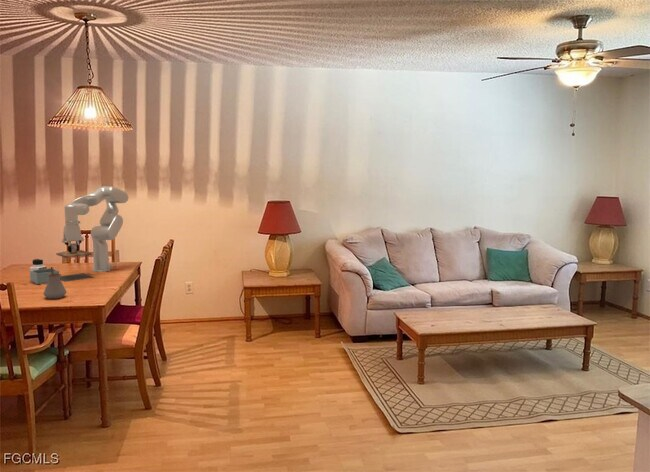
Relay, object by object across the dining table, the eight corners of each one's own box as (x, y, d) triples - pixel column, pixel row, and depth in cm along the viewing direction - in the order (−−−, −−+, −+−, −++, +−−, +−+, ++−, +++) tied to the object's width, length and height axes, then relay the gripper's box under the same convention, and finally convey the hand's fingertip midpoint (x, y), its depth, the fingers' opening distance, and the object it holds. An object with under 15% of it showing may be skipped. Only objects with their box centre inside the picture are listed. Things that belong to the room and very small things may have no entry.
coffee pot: (67, 298, 295) (66, 271, 293) (44, 300, 289) (43, 273, 287) (63, 290, 313) (62, 265, 311) (41, 292, 307) (40, 267, 305)
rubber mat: (83, 273, 362) (83, 273, 362) (95, 277, 349) (95, 277, 349) (53, 277, 349) (53, 277, 348) (64, 282, 335) (64, 281, 335)
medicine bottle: (39, 278, 346) (38, 260, 344) (30, 277, 347) (28, 259, 345) (47, 276, 353) (46, 258, 351) (37, 275, 354) (36, 258, 352)
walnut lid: (81, 251, 358) (80, 241, 357) (91, 254, 347) (90, 243, 346) (56, 254, 347) (55, 243, 346) (65, 257, 336) (65, 246, 335)
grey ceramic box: (52, 278, 345) (51, 268, 344) (59, 281, 336) (59, 271, 335) (30, 281, 336) (29, 270, 335) (37, 284, 327) (36, 273, 326)
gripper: (82, 222, 353) (84, 249, 355) (56, 224, 341) (58, 252, 344) (87, 223, 348) (88, 250, 350) (60, 225, 336) (62, 253, 338)
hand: (73, 251), depth 347 cm, fingers closed on walnut lid, 4 cm apart
